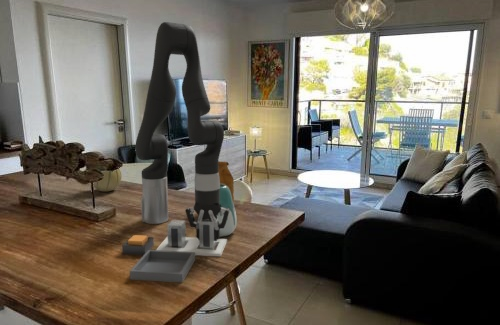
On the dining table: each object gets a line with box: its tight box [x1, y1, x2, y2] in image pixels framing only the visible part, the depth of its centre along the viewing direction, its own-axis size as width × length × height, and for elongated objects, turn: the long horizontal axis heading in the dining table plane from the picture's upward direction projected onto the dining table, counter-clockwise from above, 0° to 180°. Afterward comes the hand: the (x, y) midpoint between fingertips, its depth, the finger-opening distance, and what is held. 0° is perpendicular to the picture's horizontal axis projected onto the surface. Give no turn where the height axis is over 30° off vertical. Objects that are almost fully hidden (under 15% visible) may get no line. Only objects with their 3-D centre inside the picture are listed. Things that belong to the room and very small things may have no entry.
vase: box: [217, 184, 238, 238], centre depth 129 cm, size 12×12×18 cm
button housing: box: [121, 235, 155, 256], centre depth 114 cm, size 7×7×4 cm
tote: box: [129, 249, 196, 283], centre depth 102 cm, size 14×13×4 cm
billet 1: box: [166, 219, 187, 248], centre depth 116 cm, size 4×5×9 cm
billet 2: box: [199, 219, 218, 250], centre depth 114 cm, size 4×5×9 cm
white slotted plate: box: [155, 235, 228, 257], centre depth 116 cm, size 20×11×2 cm, turn 84°
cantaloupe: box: [93, 168, 123, 192], centre depth 181 cm, size 15×15×15 cm
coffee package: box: [218, 160, 235, 205], centre depth 151 cm, size 10×12×22 cm
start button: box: [127, 234, 149, 245], centre depth 113 cm, size 4×4×2 cm
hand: (208, 239), depth 115 cm, fingers closed on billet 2, 4 cm apart
